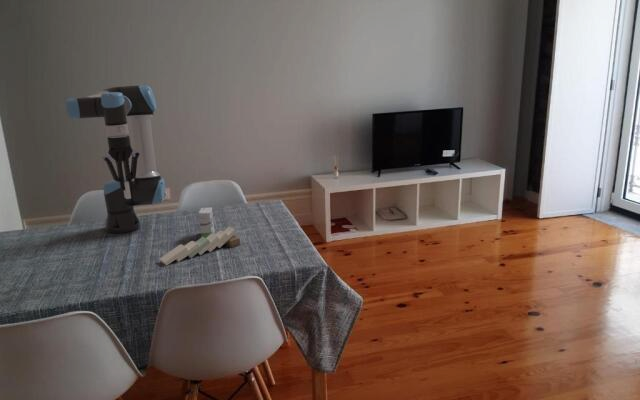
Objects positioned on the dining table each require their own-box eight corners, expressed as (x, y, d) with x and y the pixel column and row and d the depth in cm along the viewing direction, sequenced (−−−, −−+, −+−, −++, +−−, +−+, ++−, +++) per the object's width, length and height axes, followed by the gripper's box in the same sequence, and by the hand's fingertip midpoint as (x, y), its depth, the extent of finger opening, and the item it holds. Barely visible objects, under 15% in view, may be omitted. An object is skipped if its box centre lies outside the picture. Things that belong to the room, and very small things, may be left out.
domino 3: (188, 255, 197) (208, 239, 201) (183, 251, 201) (202, 236, 205) (190, 258, 198) (210, 242, 202) (185, 254, 202) (204, 239, 206)
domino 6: (217, 245, 205) (235, 229, 209) (211, 242, 208) (228, 226, 212) (219, 248, 206) (237, 231, 209) (213, 245, 209) (230, 229, 213)
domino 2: (176, 258, 194) (197, 243, 199) (171, 255, 198) (192, 240, 202) (178, 262, 195) (199, 246, 199) (173, 258, 199) (193, 243, 203)
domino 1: (164, 262, 191) (186, 247, 196) (159, 258, 195) (180, 243, 200) (166, 265, 192) (188, 250, 197) (161, 261, 196) (182, 247, 200)
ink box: (212, 238, 218) (209, 212, 215) (201, 239, 218) (198, 213, 214) (214, 231, 226) (212, 206, 223) (203, 232, 226) (200, 207, 223)
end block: (220, 242, 214) (220, 235, 213) (229, 239, 216) (228, 233, 215) (231, 247, 207) (231, 240, 206) (240, 245, 209) (239, 238, 208)
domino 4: (198, 252, 200) (217, 236, 204) (193, 249, 203) (211, 233, 208) (200, 255, 201) (219, 239, 205) (195, 251, 204) (213, 235, 208)
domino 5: (208, 249, 202) (226, 233, 206) (202, 246, 206) (220, 230, 210) (210, 252, 203) (228, 235, 207) (204, 249, 207) (222, 232, 211)
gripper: (103, 139, 176) (113, 203, 183) (139, 134, 184) (148, 196, 191) (96, 137, 181) (107, 199, 188) (132, 132, 189) (141, 192, 196)
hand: (127, 197), depth 190 cm, fingers closed
